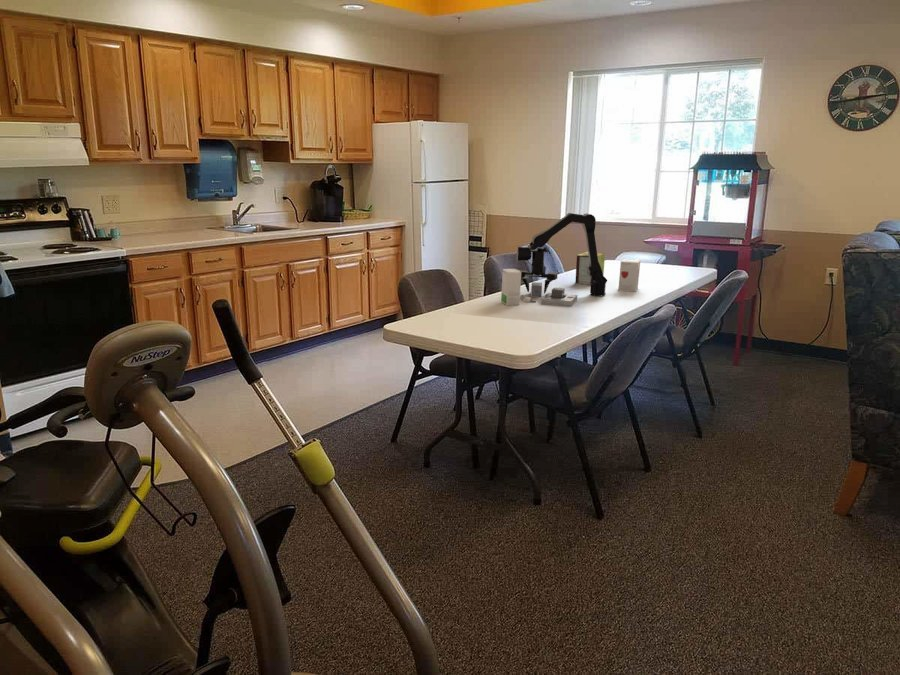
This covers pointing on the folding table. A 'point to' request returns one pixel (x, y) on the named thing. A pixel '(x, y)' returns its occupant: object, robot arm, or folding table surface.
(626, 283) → the supplement box
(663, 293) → the folding table surface
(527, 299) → the cable plug
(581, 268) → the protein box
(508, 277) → the skincare box
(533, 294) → the block
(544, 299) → the outlet plate
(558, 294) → the grey block
